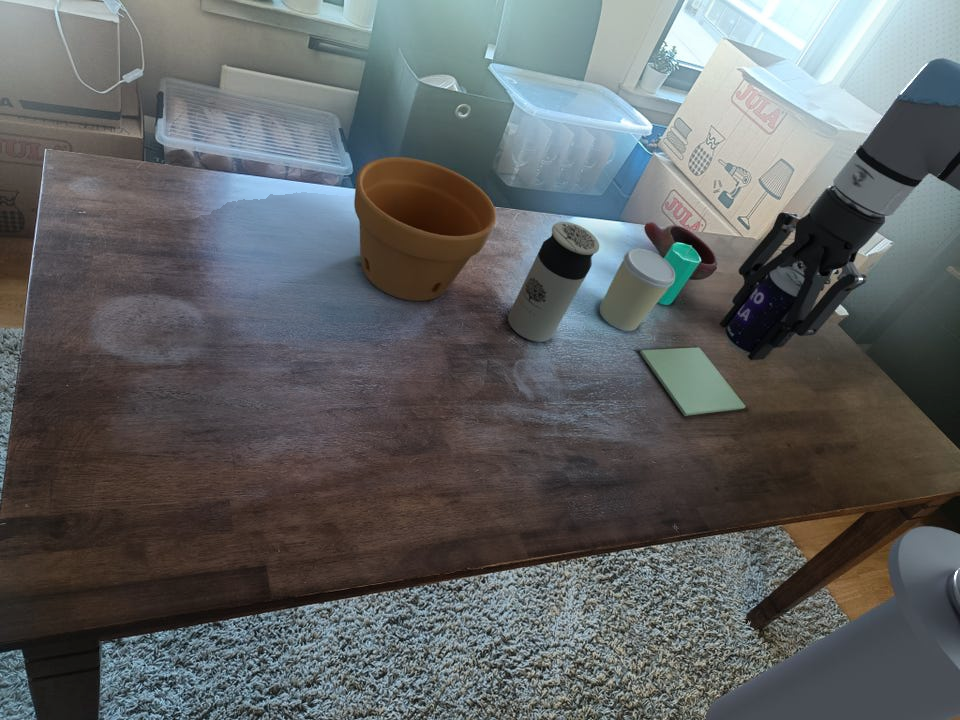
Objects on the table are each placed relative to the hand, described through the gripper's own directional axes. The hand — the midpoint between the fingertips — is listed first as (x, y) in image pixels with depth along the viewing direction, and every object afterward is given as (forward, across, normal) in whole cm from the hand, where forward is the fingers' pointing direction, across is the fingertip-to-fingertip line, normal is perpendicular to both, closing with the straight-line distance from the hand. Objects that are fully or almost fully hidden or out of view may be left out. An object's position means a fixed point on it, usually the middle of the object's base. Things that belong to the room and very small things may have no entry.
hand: (741, 341), depth 88 cm
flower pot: (+17, -35, -35) cm, 52 cm away
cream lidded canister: (+17, -23, +3) cm, 28 cm away
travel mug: (+17, -21, -18) cm, 32 cm away
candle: (+17, -29, +17) cm, 37 cm away
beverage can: (+1, 0, 0) cm, 1 cm away
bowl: (+17, -36, +26) cm, 48 cm away
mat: (+17, -7, +8) cm, 20 cm away
